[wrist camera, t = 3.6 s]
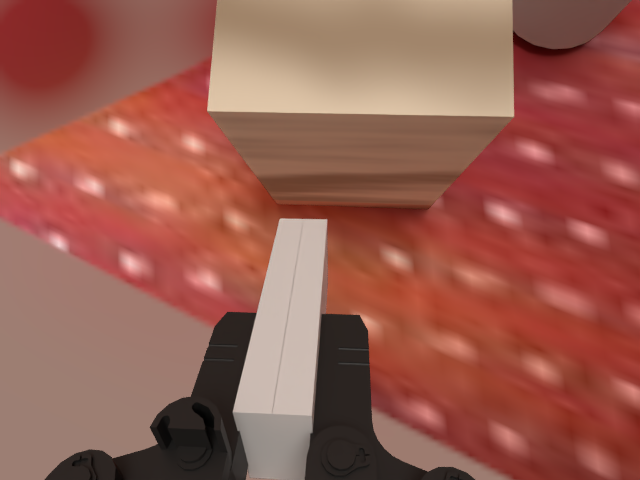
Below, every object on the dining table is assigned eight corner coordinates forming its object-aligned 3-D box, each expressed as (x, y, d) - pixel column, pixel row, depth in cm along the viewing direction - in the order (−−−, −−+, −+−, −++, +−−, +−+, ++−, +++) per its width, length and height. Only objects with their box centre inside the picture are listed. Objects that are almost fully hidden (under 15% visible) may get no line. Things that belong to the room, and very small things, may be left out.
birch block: (428, 209, 27) (513, 116, 13) (277, 203, 28) (207, 111, 14) (429, 136, 28) (512, -25, 14) (281, 132, 28) (219, -24, 14)
